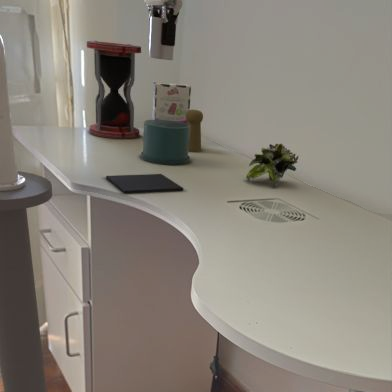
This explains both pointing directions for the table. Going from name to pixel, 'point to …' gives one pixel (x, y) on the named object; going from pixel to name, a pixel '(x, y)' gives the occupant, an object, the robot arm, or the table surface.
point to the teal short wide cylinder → (166, 142)
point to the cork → (194, 129)
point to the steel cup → (158, 41)
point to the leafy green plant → (272, 162)
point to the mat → (143, 183)
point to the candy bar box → (171, 101)
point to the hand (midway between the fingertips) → (161, 43)
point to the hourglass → (114, 89)
